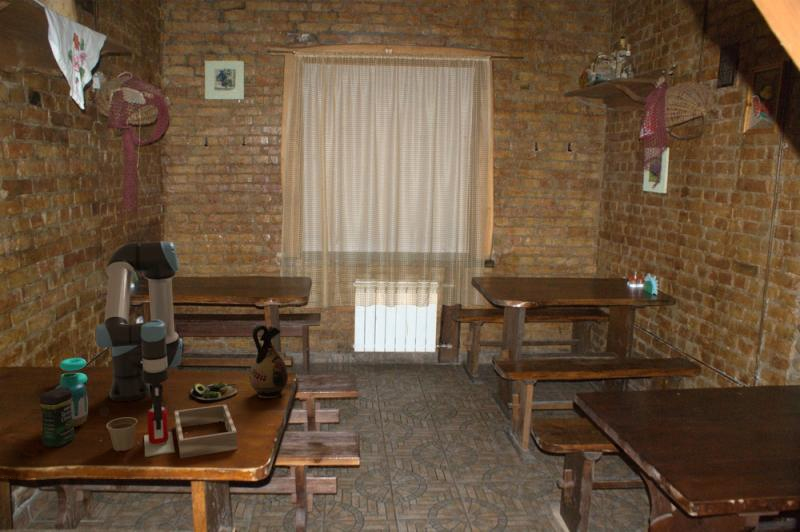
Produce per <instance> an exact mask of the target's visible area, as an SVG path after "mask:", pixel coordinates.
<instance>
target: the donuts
mask: <svg viewBox="0 0 800 532" xmlns="http://www.w3.org/2000/svg"><path fill="white" fill-rule="evenodd" d="M86 365H87V361H86V360H85V359H84V358H82V357H72V358H66V359H64V360H62V361H60V363H59V367H60V369H61V370H63V371H66V372H73V371H74V372H75V371H77V370H81V369H83V368H85V367H86ZM76 373H77V375H78V381H79V382H80V383H83V384H84V383H86V382H87V381H88V377H87V375H86V374H85V373H82V372H76Z"/></svg>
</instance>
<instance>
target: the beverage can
mask: <svg viewBox="0 0 800 532" xmlns="http://www.w3.org/2000/svg"><path fill="white" fill-rule="evenodd" d="M146 417H147V432H148V433H147V435H148V436H149V442H150V443H151V444H153V445H161V444H164V443H165V442H167V441H168V432H169V423H168V411H167V409H166V408H165V407H164V406H162V417H163V438H158V439H155V437H154V421H152V418H154V408H153V407H151V408H150V409H148V411H147V414H146Z"/></svg>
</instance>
